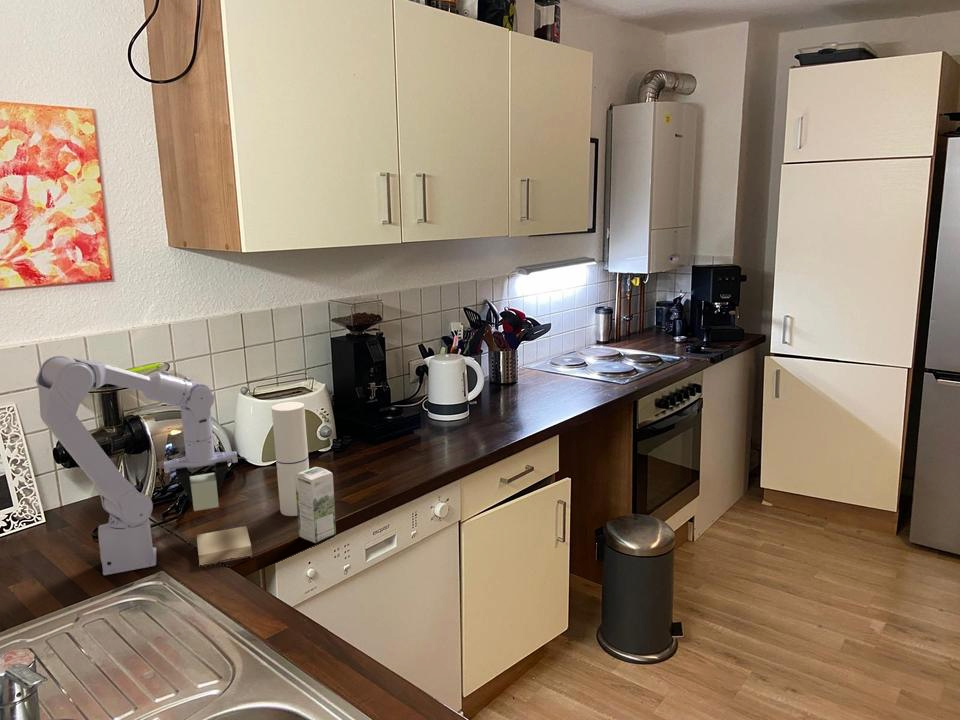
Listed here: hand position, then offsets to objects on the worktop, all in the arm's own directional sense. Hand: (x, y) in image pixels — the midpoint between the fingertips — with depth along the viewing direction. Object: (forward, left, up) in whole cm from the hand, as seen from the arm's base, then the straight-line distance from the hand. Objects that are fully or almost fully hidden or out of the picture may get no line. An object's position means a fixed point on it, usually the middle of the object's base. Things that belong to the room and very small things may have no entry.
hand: (205, 498), depth 160 cm
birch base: (+3, -10, -9) cm, 14 cm away
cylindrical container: (+20, +5, -9) cm, 22 cm away
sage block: (0, 0, -2) cm, 2 cm away
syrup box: (+22, -11, -9) cm, 26 cm away
